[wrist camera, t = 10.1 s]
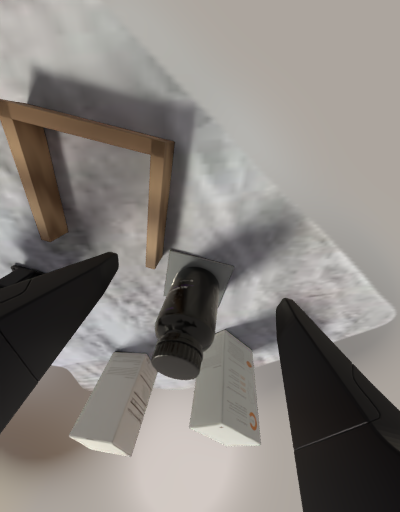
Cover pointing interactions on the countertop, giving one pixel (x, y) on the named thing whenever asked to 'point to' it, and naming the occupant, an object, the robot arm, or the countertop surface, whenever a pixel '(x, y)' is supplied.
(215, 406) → the small box
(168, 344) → the supplement bottle
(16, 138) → the frame
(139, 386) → the supplement box
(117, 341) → the countertop surface
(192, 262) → the slate mat
